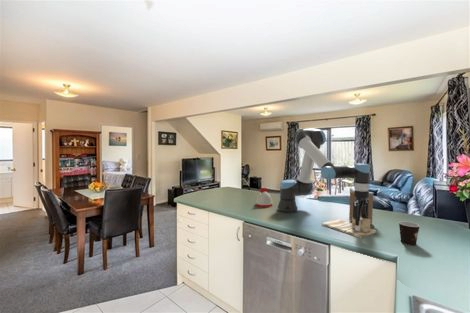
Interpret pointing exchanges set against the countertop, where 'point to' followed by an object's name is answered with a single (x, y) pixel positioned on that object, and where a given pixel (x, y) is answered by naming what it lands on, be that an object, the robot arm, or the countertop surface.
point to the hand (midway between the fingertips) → (360, 229)
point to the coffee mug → (408, 232)
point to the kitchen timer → (264, 199)
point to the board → (346, 228)
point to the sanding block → (362, 224)
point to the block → (353, 199)
